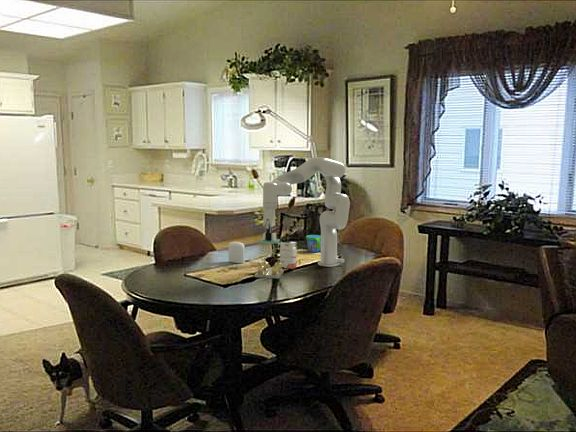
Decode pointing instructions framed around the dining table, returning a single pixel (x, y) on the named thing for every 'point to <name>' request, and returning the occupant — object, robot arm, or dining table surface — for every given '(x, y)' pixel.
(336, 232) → the robot arm
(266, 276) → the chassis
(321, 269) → the dining table surface
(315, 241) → the snack cup
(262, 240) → the circuit board
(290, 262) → the ink cartridge box
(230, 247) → the photo printer
